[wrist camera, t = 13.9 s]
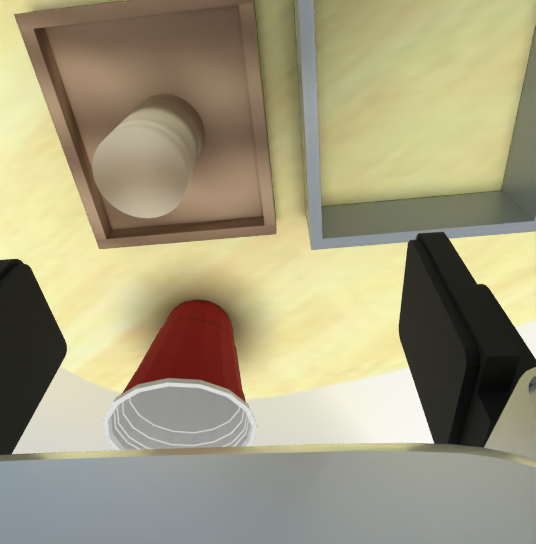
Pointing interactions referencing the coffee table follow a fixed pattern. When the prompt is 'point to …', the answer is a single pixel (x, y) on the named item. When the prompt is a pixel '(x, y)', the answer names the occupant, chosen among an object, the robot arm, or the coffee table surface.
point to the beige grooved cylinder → (150, 157)
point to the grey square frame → (419, 211)
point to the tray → (152, 81)
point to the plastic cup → (184, 388)
